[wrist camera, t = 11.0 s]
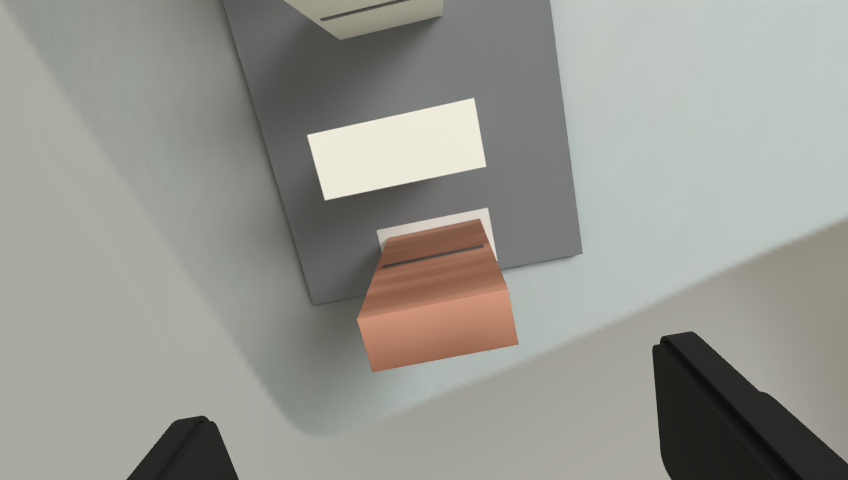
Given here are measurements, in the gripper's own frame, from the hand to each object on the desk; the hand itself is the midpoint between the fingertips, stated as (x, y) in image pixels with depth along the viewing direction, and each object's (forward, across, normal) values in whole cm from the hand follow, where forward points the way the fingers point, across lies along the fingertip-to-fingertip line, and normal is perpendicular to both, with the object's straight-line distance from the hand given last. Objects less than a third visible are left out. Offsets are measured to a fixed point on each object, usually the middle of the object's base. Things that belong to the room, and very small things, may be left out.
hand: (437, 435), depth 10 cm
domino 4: (+16, 0, -5) cm, 17 cm away
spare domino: (+16, 0, +1) cm, 16 cm away
